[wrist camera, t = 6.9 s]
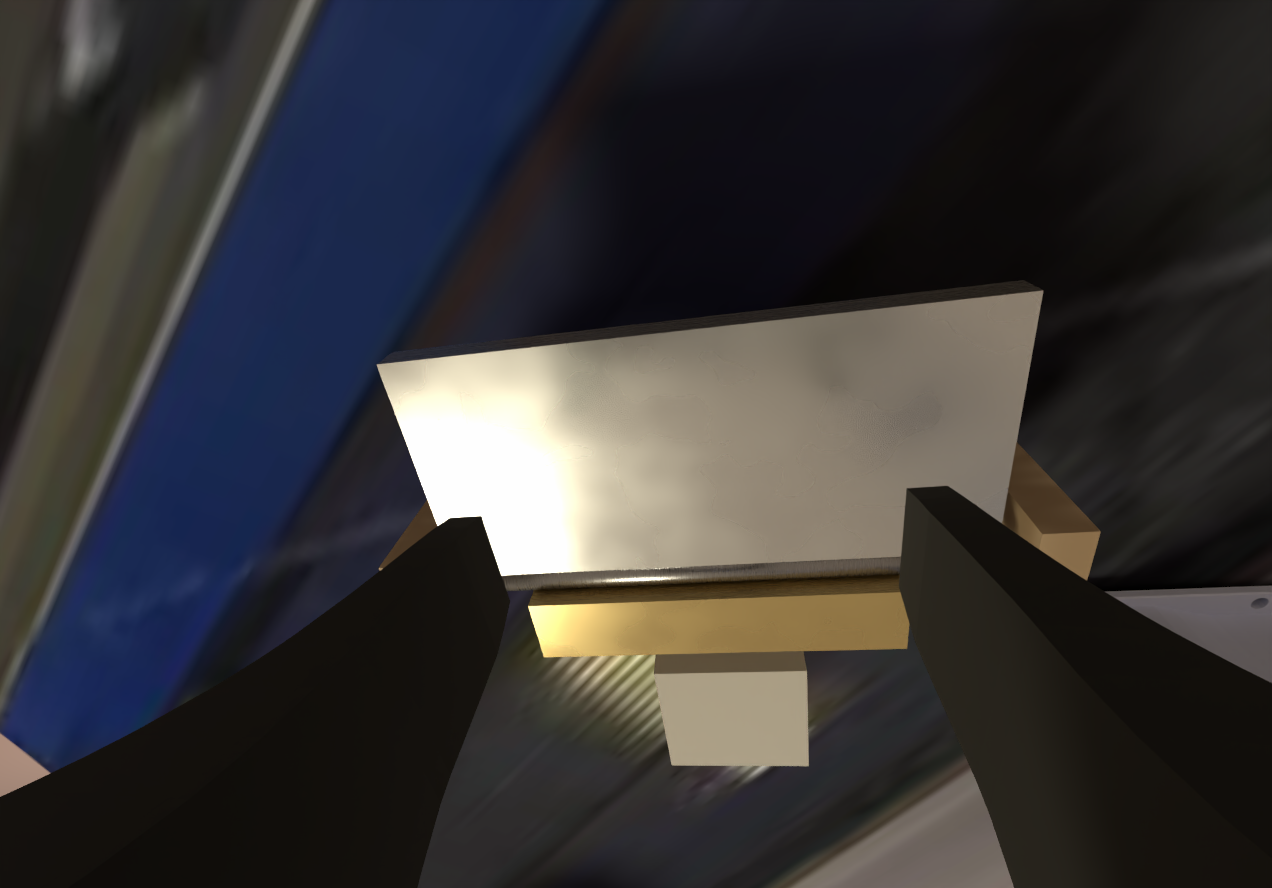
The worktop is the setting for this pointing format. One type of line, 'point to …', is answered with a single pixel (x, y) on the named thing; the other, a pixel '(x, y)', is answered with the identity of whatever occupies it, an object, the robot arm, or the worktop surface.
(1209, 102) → the worktop surface
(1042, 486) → the frame
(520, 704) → the worktop surface
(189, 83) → the worktop surface
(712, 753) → the stone block
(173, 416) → the worktop surface
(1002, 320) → the trapdoor
